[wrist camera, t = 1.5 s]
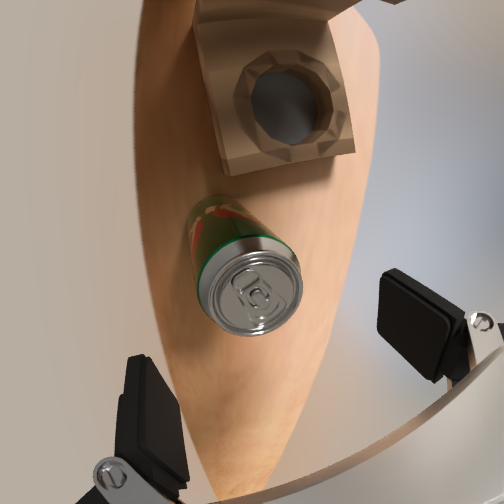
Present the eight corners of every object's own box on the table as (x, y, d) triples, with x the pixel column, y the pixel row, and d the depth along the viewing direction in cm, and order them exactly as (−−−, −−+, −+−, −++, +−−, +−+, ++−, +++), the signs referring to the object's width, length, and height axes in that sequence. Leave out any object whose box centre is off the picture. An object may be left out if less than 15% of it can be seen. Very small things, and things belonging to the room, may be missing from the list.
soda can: (209, 264, 24) (241, 359, 13) (174, 218, 21) (174, 291, 11) (257, 230, 24) (326, 301, 13) (225, 182, 21) (279, 217, 11)
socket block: (191, 25, 16) (213, -66, 5) (307, 19, 17) (390, -35, 6) (223, 173, 21) (275, 199, 10) (336, 151, 23) (442, 165, 12)
